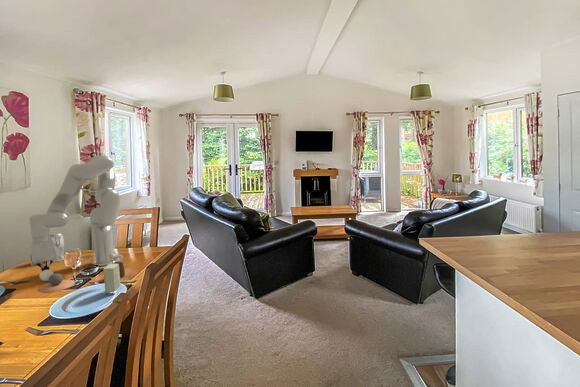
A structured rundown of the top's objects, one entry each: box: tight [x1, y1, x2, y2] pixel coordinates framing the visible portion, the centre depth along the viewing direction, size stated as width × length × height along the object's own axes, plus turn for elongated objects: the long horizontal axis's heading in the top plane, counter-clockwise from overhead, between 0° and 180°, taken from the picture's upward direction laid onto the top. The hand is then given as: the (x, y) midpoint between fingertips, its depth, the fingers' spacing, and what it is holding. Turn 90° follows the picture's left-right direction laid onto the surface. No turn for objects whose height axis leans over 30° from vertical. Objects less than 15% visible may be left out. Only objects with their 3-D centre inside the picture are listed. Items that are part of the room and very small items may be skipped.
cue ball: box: [39, 269, 54, 282], centre depth 165 cm, size 6×6×6 cm
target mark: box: [38, 279, 76, 293], centre depth 158 cm, size 14×14×1 cm
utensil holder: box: [109, 254, 126, 279], centre depth 168 cm, size 6×6×12 cm
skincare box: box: [103, 263, 122, 294], centre depth 150 cm, size 6×4×12 cm
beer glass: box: [51, 232, 65, 262], centre depth 196 cm, size 7×7×15 cm
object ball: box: [48, 272, 64, 285], centre depth 160 cm, size 6×6×6 cm
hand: (46, 274), depth 169 cm, fingers closed
